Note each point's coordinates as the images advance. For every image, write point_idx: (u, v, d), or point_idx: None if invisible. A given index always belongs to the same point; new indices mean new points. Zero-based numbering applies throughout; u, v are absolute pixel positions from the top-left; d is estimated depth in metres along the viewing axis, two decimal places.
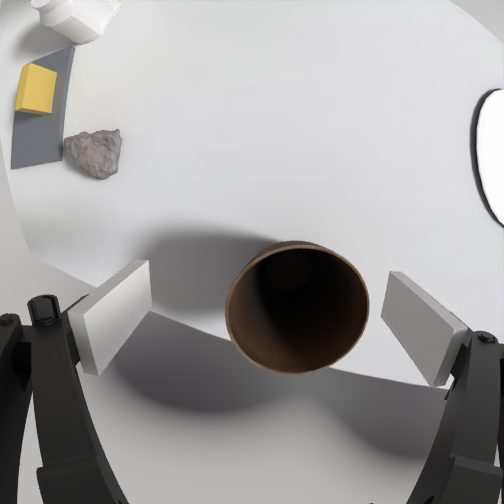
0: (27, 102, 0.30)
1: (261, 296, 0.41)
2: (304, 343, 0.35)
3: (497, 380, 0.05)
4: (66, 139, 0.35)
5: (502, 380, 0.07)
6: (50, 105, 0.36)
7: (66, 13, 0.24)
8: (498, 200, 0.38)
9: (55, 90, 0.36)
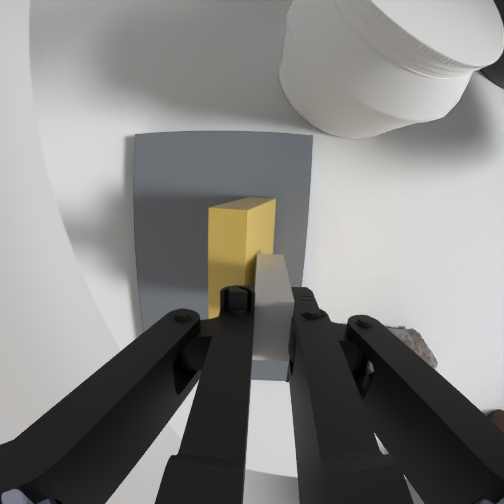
0: None
1: None
2: None
3: (341, 357, 0.07)
4: None
5: None
6: None
7: (441, 107, 0.11)
8: None
9: (277, 245, 0.23)
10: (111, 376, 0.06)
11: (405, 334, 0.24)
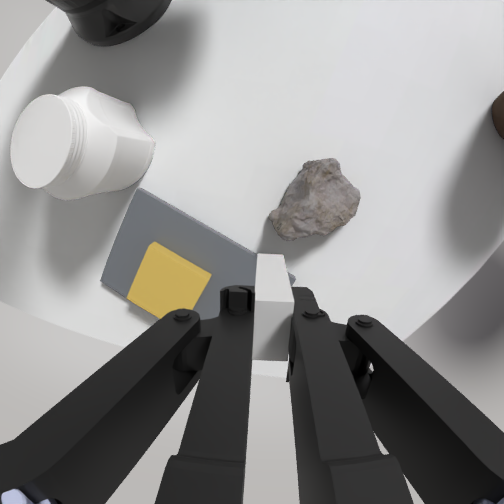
0: None
1: None
2: None
3: (341, 357, 0.07)
4: (284, 229, 0.29)
5: None
6: (196, 278, 0.33)
7: (108, 140, 0.22)
8: None
9: (189, 239, 0.34)
10: (111, 376, 0.06)
11: (301, 173, 0.31)
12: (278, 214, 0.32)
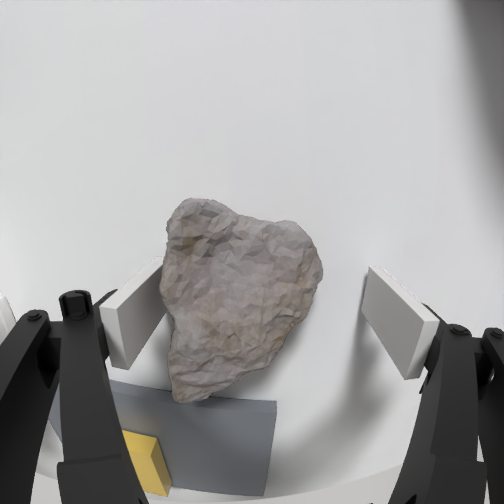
0: (154, 490, 0.19)
1: None
2: None
3: (473, 373, 0.06)
4: (177, 396, 0.12)
5: (478, 375, 0.08)
6: (135, 455, 0.17)
7: None
8: None
9: None
10: None
11: None
12: None
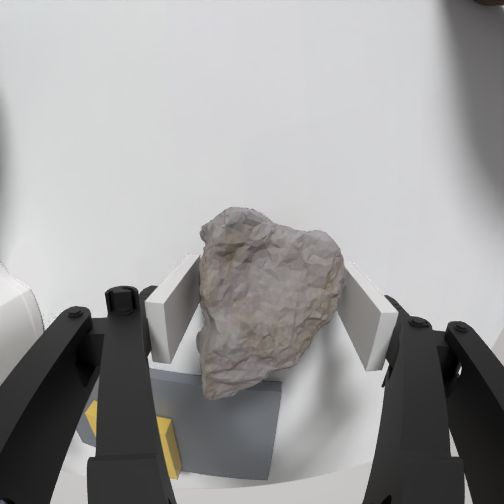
0: None
1: None
2: None
3: (437, 365, 0.07)
4: (208, 393, 0.13)
5: (441, 368, 0.08)
6: None
7: None
8: None
9: None
10: (24, 373, 0.05)
11: None
12: (204, 344, 0.16)
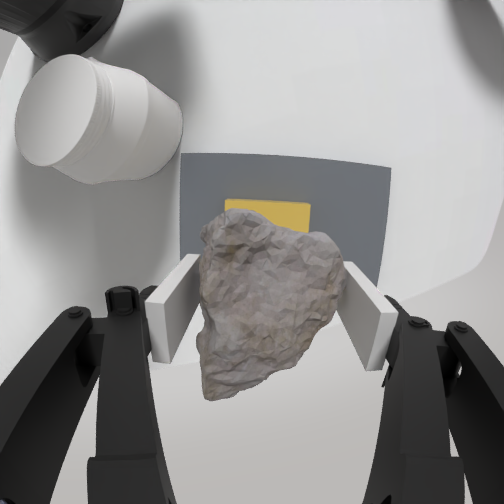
0: None
1: None
2: None
3: (437, 365, 0.07)
4: (208, 394, 0.13)
5: (441, 368, 0.08)
6: (295, 209, 0.27)
7: (135, 81, 0.17)
8: None
9: (265, 176, 0.28)
10: (24, 373, 0.05)
11: None
12: (204, 344, 0.16)
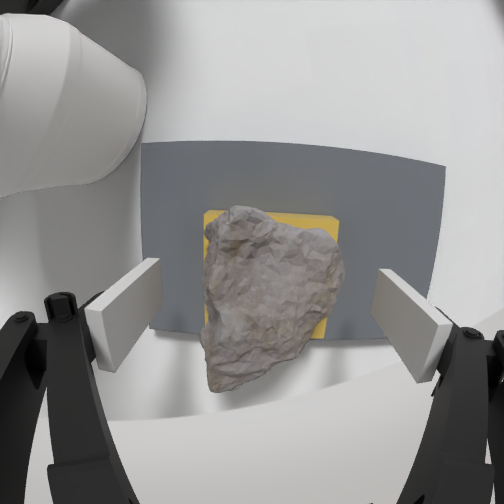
0: None
1: None
2: None
3: (484, 376, 0.06)
4: (213, 386, 0.14)
5: (489, 377, 0.07)
6: (316, 227, 0.17)
7: (51, 29, 0.07)
8: None
9: (268, 174, 0.18)
10: None
11: None
12: (208, 339, 0.17)
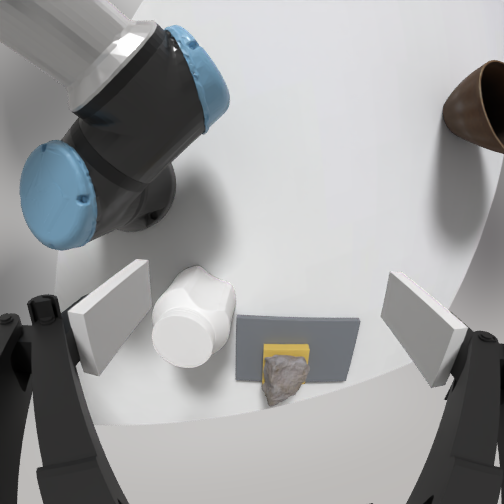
0: None
1: None
2: None
3: (497, 380, 0.05)
4: (270, 404, 0.45)
5: (502, 380, 0.07)
6: (301, 352, 0.48)
7: (222, 317, 0.39)
8: None
9: (286, 331, 0.50)
10: None
11: (266, 364, 0.48)
12: (266, 388, 0.48)
